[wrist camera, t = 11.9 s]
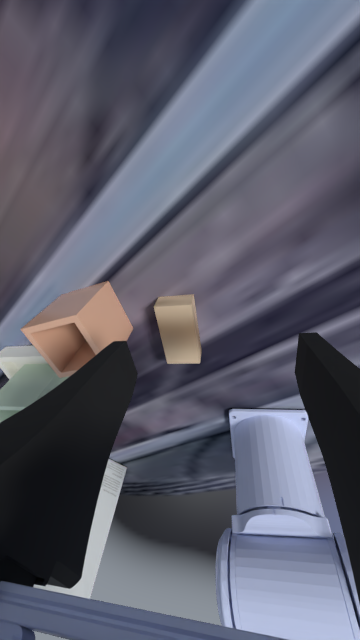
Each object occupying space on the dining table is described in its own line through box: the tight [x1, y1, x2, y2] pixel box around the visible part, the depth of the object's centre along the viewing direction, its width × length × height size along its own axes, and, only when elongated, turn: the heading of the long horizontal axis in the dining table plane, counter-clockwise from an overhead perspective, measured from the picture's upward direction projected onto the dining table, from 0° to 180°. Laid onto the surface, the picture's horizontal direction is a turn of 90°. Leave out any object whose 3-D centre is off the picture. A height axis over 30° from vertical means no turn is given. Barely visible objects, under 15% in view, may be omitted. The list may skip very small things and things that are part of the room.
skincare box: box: [33, 459, 127, 599], centre depth 32 cm, size 8×7×16 cm
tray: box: [0, 346, 48, 380], centre depth 28 cm, size 9×9×2 cm
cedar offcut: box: [154, 295, 201, 364], centre depth 22 cm, size 6×3×2 cm, turn 9°
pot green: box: [0, 364, 70, 422], centre depth 26 cm, size 5×5×6 cm
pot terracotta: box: [21, 281, 133, 378], centre depth 20 cm, size 5×5×6 cm
